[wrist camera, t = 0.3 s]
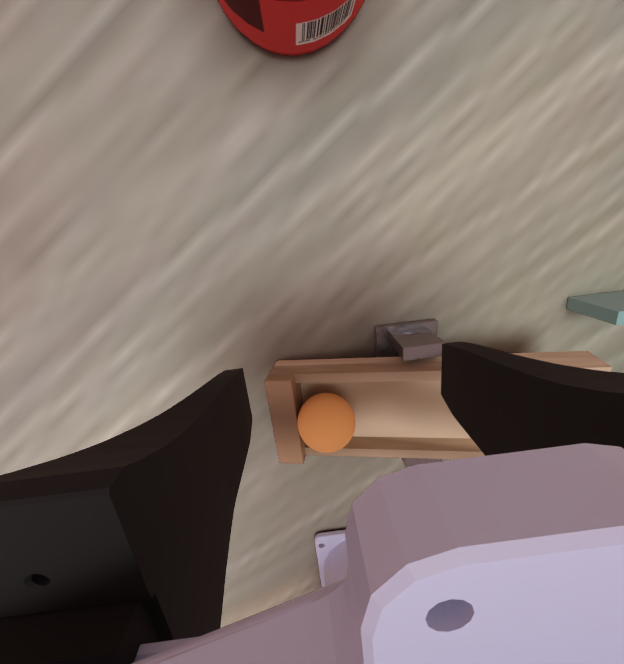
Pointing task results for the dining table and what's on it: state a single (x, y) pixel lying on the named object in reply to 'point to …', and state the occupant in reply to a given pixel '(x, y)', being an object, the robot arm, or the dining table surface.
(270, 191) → the dining table surface
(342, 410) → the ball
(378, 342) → the fulcrum
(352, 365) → the lever
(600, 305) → the teal u-shaped frame
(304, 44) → the canned food
